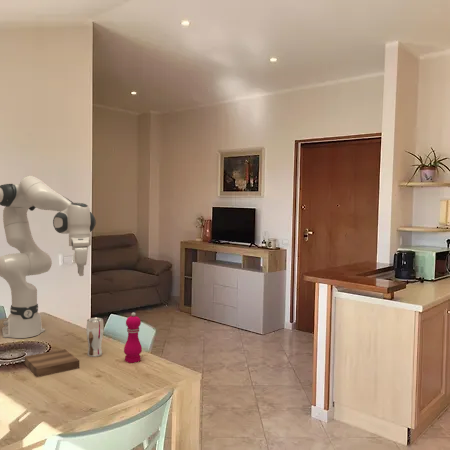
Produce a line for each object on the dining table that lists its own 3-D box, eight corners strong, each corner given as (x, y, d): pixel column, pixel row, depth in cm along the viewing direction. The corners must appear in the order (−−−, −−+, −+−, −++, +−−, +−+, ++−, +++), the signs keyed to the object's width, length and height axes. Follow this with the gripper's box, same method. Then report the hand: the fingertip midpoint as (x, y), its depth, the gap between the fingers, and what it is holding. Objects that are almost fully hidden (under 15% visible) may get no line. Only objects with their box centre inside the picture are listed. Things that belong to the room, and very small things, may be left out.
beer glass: (90, 358, 192) (91, 322, 192) (83, 353, 198) (83, 319, 197) (106, 355, 197) (106, 320, 196) (98, 350, 202) (99, 316, 201)
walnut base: (24, 364, 184) (24, 356, 184) (64, 356, 194) (64, 349, 194) (37, 377, 172) (37, 369, 172) (79, 367, 182) (79, 360, 182)
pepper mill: (135, 356, 197) (136, 309, 196) (145, 360, 192) (146, 312, 191) (120, 359, 192) (121, 312, 191) (130, 364, 187) (130, 315, 186)
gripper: (71, 240, 203) (71, 272, 203) (72, 242, 184) (73, 277, 184) (86, 240, 205) (86, 271, 205) (89, 242, 186) (90, 276, 186)
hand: (80, 274), depth 195 cm, fingers open, 8 cm apart
